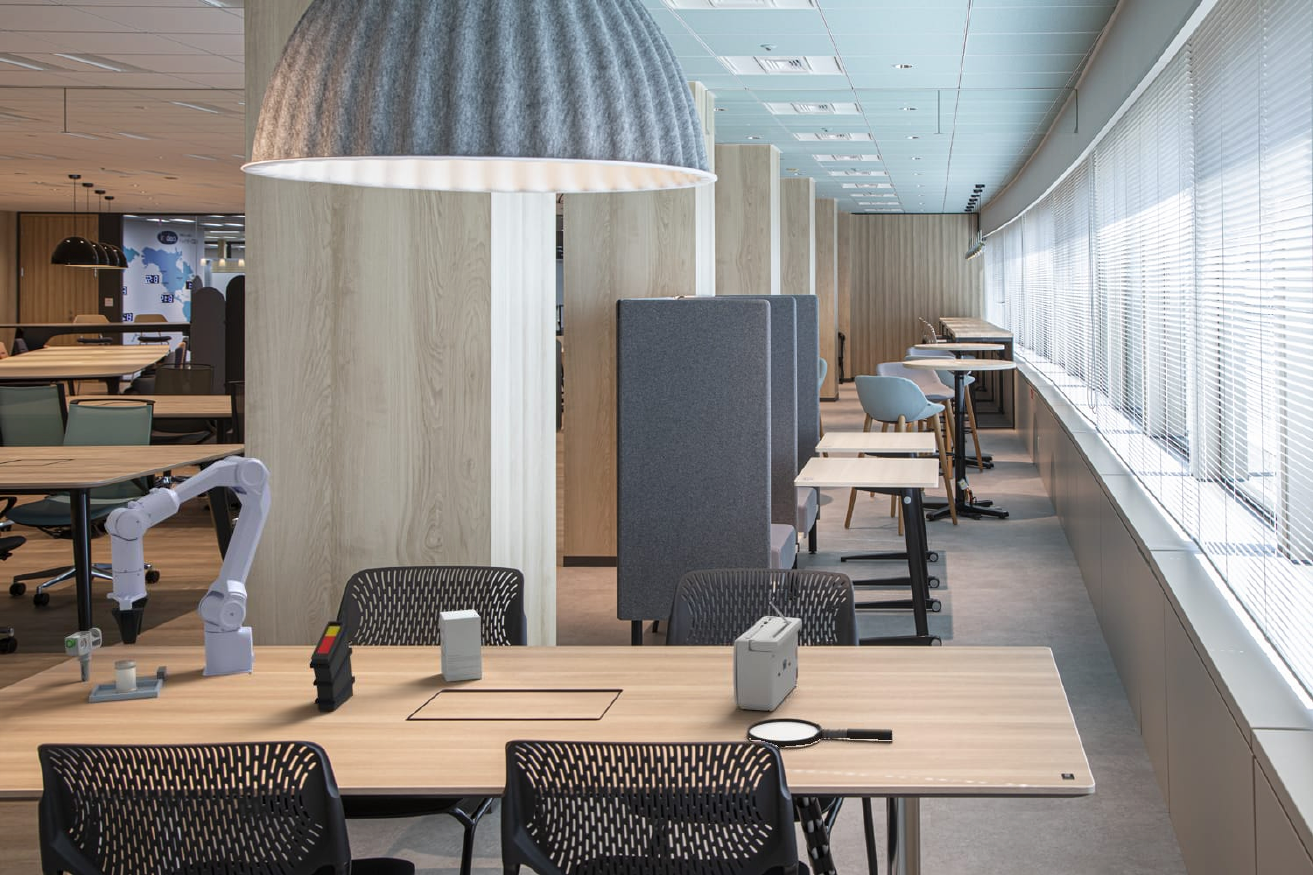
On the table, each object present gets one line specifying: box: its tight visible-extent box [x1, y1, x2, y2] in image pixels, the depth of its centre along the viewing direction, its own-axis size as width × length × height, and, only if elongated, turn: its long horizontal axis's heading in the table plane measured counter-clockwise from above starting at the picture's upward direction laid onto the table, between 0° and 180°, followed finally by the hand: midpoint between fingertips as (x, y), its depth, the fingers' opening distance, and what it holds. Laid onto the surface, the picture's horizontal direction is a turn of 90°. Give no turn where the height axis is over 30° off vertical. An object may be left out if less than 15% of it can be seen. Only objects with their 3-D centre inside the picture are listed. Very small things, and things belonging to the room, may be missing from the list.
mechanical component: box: [64, 627, 103, 682], centre depth 255 cm, size 3×10×10 cm, turn 174°
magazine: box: [309, 620, 356, 712], centre depth 237 cm, size 4×13×15 cm, turn 174°
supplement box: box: [439, 609, 483, 683], centre depth 255 cm, size 7×7×13 cm
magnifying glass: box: [746, 717, 893, 749], centre depth 214 cm, size 12×24×2 cm, turn 80°
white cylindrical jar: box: [113, 659, 137, 694], centre depth 245 cm, size 4×4×6 cm
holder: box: [136, 665, 169, 682], centre depth 255 cm, size 8×5×2 cm, turn 105°
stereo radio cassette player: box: [732, 601, 803, 712], centre depth 237 cm, size 21×8×20 cm, turn 160°
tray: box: [88, 679, 164, 704], centre depth 245 cm, size 12×9×2 cm
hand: (132, 639), depth 249 cm, fingers open, 7 cm apart
